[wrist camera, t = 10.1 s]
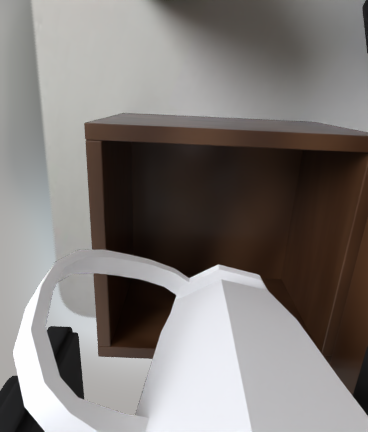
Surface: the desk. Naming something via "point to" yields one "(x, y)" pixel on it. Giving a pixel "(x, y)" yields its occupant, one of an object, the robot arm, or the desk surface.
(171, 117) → the chest
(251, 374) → the cup
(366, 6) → the portable speaker
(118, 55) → the desk surface
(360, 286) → the lid
